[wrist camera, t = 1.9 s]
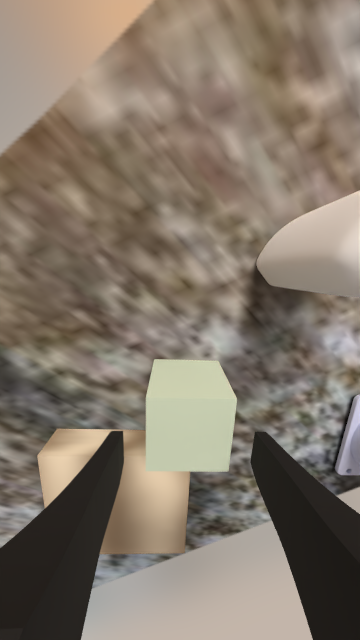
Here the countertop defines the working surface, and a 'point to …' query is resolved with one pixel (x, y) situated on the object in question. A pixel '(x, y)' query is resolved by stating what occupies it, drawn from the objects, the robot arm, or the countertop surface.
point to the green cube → (189, 417)
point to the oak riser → (123, 491)
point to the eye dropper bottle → (317, 251)
